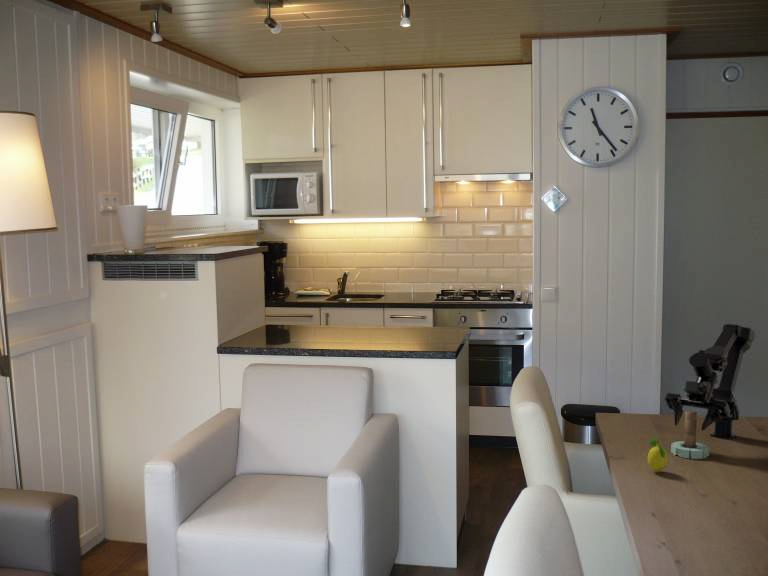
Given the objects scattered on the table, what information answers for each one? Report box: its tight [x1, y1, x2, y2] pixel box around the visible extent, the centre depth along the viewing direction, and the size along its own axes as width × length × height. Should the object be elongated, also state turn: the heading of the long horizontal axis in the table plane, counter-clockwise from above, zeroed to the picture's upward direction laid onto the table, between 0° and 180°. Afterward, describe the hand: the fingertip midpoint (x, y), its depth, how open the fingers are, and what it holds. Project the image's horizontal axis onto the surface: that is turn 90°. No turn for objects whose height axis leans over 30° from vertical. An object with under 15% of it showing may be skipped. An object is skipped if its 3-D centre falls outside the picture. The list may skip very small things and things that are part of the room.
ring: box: [670, 440, 710, 460], centre depth 255 cm, size 10×10×2 cm
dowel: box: [683, 410, 698, 449], centre depth 255 cm, size 3×3×13 cm
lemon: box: [647, 438, 669, 473], centre depth 237 cm, size 7×6×10 cm
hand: (688, 427), depth 253 cm, fingers open, 8 cm apart
